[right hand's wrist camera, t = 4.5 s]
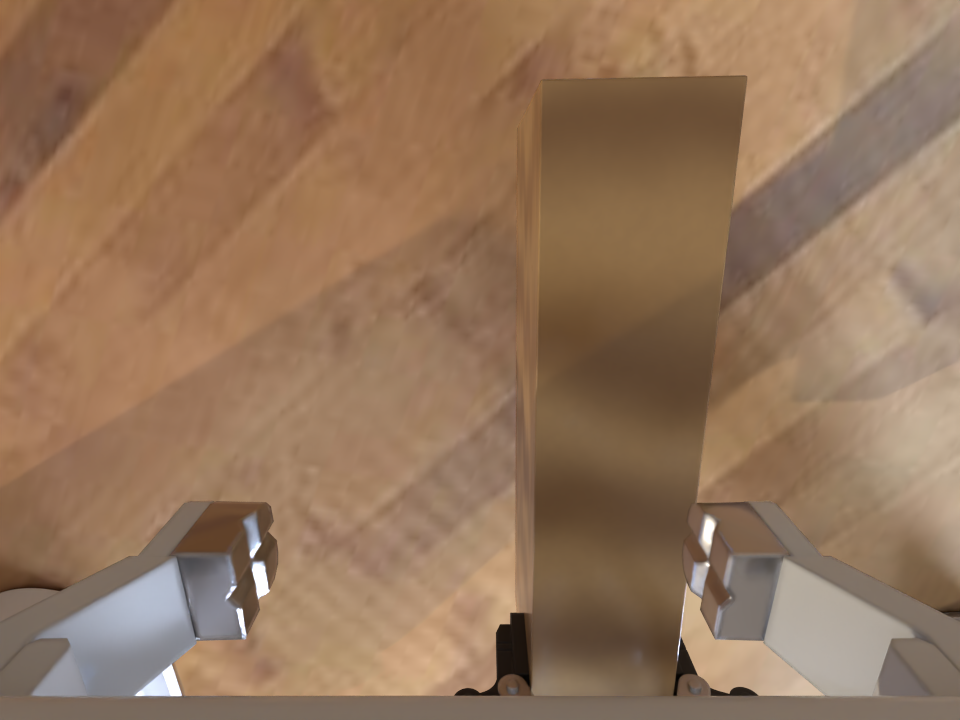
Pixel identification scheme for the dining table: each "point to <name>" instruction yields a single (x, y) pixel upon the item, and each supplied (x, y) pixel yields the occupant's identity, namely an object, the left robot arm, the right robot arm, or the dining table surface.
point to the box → (615, 366)
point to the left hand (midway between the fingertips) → (583, 627)
